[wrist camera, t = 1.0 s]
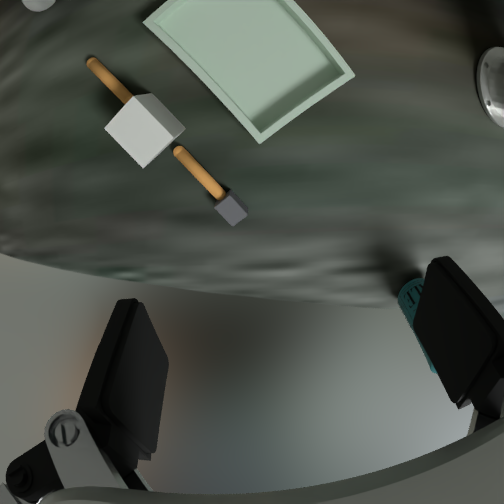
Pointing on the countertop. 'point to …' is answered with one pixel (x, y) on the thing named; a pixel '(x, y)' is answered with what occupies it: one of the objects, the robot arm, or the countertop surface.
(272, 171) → the countertop surface
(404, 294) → the beverage bottle
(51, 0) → the headset
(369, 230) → the countertop surface
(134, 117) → the pale grey cuboid
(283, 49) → the tray
